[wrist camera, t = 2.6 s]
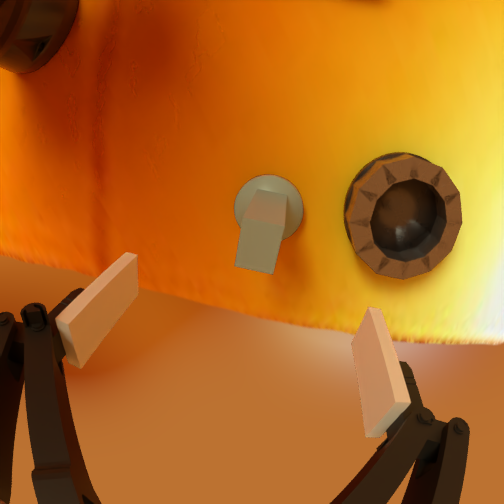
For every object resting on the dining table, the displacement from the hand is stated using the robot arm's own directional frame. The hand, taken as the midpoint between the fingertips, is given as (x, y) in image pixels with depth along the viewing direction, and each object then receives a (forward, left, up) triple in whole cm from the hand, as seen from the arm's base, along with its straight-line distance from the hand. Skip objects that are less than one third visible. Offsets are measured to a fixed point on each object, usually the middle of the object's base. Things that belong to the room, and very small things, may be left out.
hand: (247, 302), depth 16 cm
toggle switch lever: (0, 0, -17) cm, 17 cm away
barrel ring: (+14, +3, -17) cm, 22 cm away
